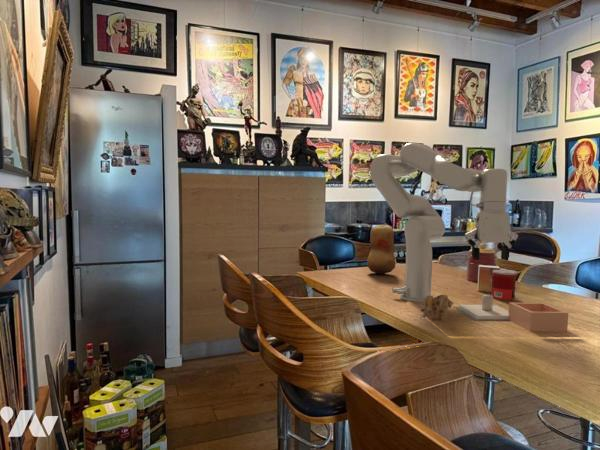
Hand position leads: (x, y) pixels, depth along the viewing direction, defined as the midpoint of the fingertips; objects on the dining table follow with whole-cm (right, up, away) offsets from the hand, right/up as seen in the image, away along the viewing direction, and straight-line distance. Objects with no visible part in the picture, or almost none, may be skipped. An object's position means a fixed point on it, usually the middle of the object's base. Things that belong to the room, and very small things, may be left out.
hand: (490, 259), depth 130 cm
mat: (-1, -18, +1) cm, 18 cm away
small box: (+17, -17, +38) cm, 44 cm away
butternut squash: (-21, -14, +71) cm, 75 cm away
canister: (+24, -15, +60) cm, 66 cm away
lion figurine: (-19, -19, -4) cm, 27 cm away
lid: (-1, -18, +1) cm, 18 cm away
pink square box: (+9, -19, -11) cm, 24 cm away
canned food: (+16, -18, +23) cm, 32 cm away
